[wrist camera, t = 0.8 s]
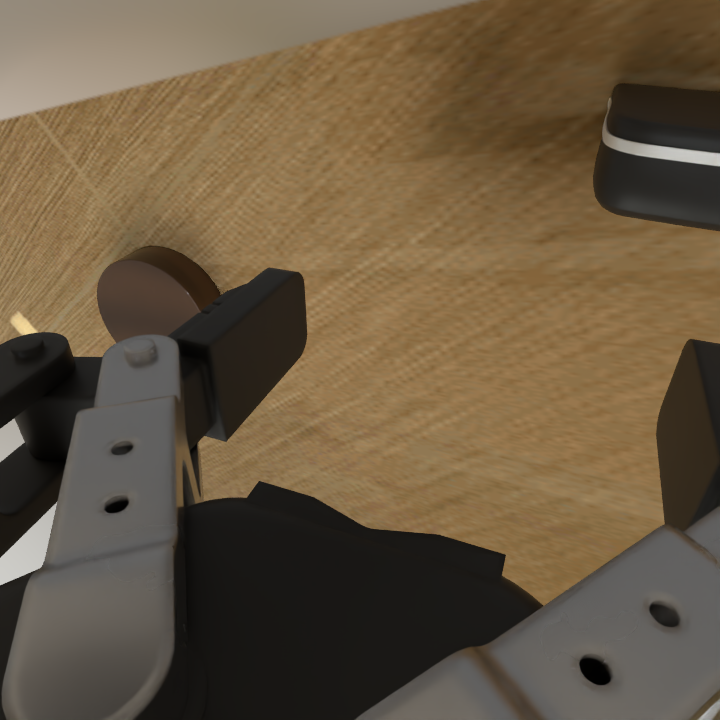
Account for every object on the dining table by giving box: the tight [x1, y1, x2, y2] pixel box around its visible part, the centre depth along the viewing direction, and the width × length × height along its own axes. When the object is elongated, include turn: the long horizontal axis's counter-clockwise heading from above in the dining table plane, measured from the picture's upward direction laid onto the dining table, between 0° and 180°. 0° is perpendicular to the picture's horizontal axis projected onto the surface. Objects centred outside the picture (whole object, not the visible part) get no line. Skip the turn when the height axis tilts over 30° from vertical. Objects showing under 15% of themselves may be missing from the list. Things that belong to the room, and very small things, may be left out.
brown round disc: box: [97, 247, 221, 343], centre depth 47 cm, size 11×11×3 cm
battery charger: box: [593, 84, 720, 231], centre depth 24 cm, size 7×4×11 cm, turn 87°
